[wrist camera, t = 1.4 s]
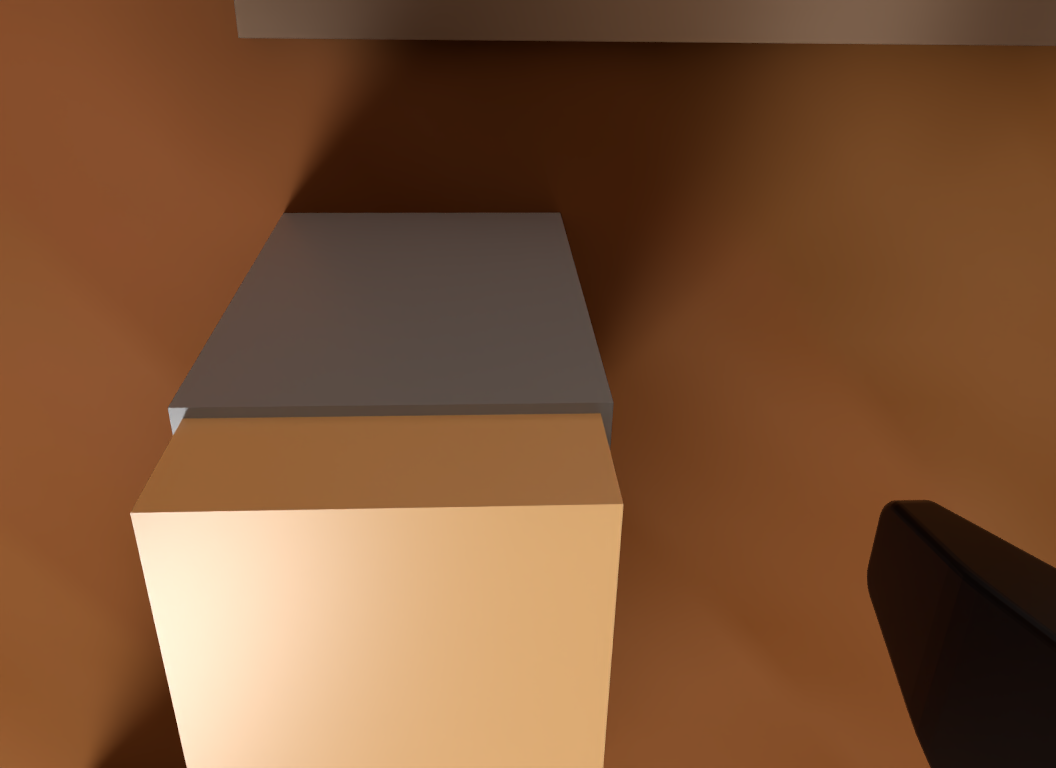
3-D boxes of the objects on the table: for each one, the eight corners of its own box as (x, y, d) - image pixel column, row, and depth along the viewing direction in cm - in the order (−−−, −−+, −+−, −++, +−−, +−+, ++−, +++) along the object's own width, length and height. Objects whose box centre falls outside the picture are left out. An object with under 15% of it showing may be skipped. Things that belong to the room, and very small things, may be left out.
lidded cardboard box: (560, 212, 12) (639, 492, 6) (552, 446, 14) (608, 831, 8) (283, 212, 12) (112, 501, 6) (309, 449, 14) (192, 847, 8)
